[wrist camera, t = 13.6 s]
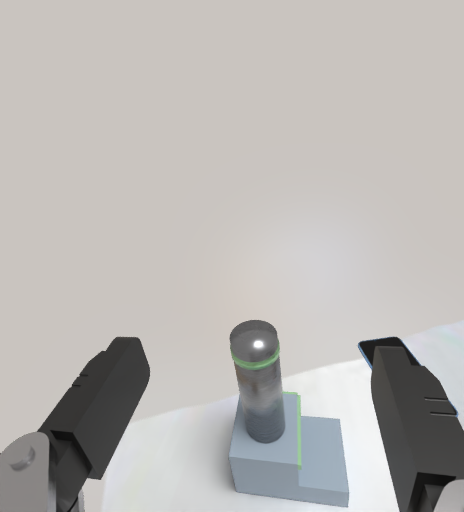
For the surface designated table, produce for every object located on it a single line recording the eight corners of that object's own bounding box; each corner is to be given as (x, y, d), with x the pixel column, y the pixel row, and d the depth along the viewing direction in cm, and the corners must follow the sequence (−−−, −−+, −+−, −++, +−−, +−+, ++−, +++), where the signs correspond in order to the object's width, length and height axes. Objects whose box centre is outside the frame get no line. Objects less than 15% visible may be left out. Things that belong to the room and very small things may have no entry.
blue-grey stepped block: (338, 431, 40) (340, 394, 37) (347, 507, 33) (351, 470, 30) (246, 423, 43) (240, 388, 39) (236, 491, 36) (228, 456, 32)
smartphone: (406, 424, 39) (355, 341, 53) (405, 428, 40) (355, 344, 53) (463, 415, 39) (398, 334, 53) (462, 419, 40) (397, 338, 53)
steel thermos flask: (287, 407, 36) (279, 319, 30) (285, 446, 32) (276, 355, 26) (248, 404, 37) (233, 319, 31) (242, 442, 33) (224, 353, 27)
